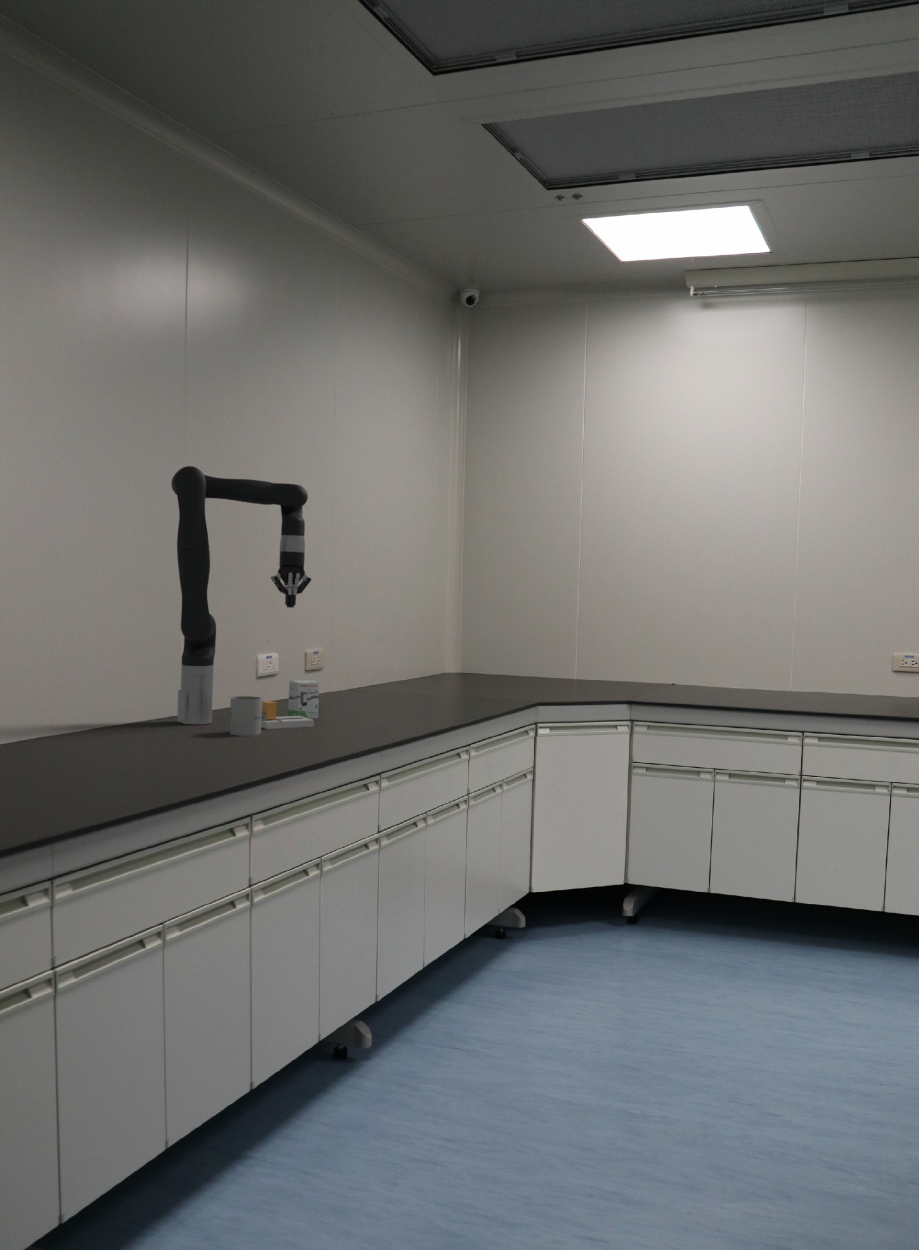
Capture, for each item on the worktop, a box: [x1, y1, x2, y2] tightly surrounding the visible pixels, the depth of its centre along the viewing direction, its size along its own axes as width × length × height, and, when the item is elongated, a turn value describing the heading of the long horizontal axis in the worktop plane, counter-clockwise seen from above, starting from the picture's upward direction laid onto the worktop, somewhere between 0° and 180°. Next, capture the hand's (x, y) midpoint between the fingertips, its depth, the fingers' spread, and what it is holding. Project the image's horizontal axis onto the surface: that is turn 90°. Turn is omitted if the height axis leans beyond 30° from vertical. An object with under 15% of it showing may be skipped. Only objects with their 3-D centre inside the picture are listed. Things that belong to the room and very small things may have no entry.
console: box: [261, 713, 315, 730], centre depth 311 cm, size 15×10×4 cm, turn 124°
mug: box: [229, 695, 263, 737], centre depth 295 cm, size 12×9×10 cm
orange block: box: [262, 700, 278, 719], centre depth 308 cm, size 3×4×5 cm
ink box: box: [287, 679, 320, 720], centre depth 329 cm, size 9×5×12 cm, turn 135°
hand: (290, 607), depth 320 cm, fingers closed
